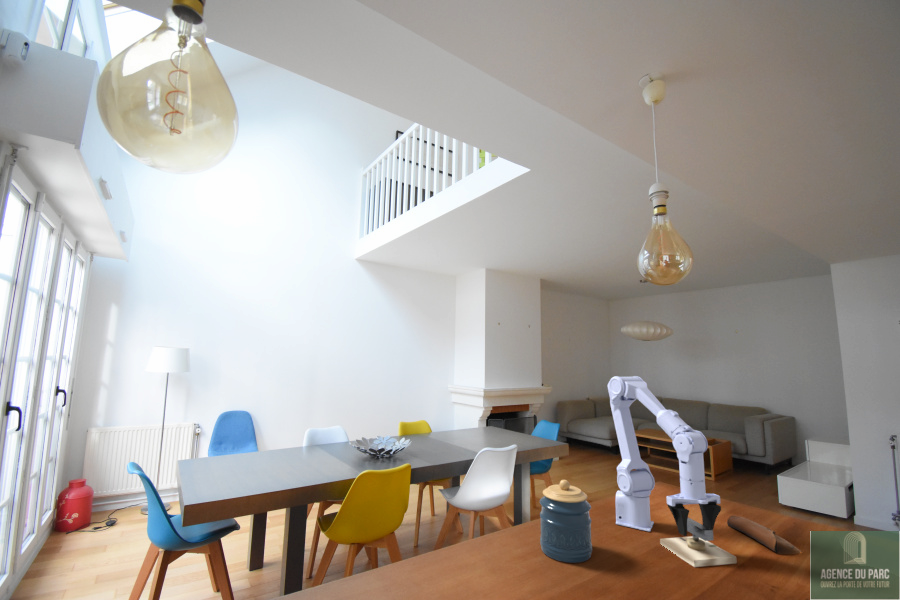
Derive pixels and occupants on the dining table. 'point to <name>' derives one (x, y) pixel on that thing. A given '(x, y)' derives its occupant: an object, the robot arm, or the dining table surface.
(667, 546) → the base plate
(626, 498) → the robot arm
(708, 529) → the dark rectangular block
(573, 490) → the canister
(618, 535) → the dining table surface
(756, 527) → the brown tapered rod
